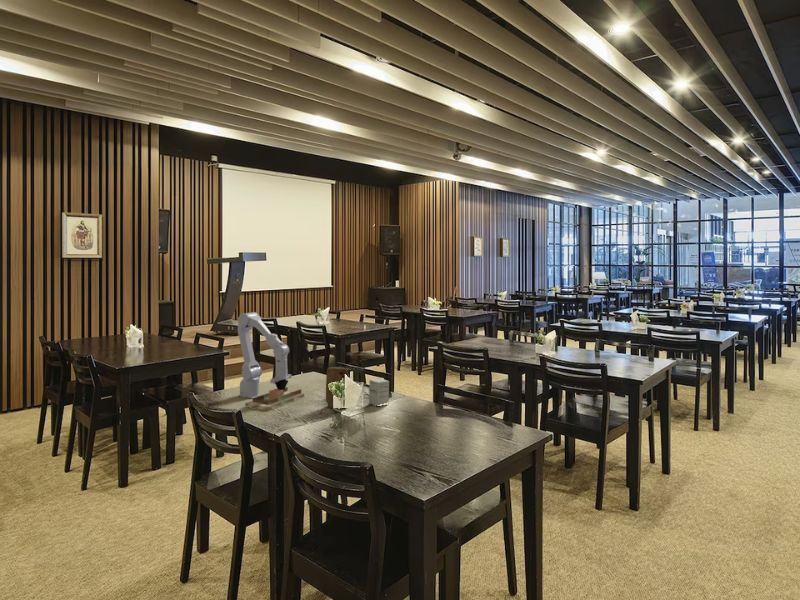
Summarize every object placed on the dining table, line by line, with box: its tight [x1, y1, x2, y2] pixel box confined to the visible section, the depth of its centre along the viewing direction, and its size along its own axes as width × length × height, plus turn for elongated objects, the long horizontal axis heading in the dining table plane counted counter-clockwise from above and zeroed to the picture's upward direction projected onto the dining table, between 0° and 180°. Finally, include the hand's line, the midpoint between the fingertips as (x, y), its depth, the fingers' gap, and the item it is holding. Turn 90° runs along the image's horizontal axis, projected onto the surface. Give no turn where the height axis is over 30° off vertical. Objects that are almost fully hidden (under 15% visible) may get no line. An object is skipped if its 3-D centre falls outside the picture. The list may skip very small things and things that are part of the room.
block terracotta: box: [268, 388, 284, 399], centre depth 258 cm, size 5×5×4 cm
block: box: [325, 366, 349, 410], centre depth 251 cm, size 11×8×20 cm
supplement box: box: [368, 378, 390, 406], centre depth 258 cm, size 7×7×13 cm
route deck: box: [244, 386, 305, 412], centre depth 258 cm, size 14×29×4 cm, turn 155°
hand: (281, 394), depth 262 cm, fingers closed
